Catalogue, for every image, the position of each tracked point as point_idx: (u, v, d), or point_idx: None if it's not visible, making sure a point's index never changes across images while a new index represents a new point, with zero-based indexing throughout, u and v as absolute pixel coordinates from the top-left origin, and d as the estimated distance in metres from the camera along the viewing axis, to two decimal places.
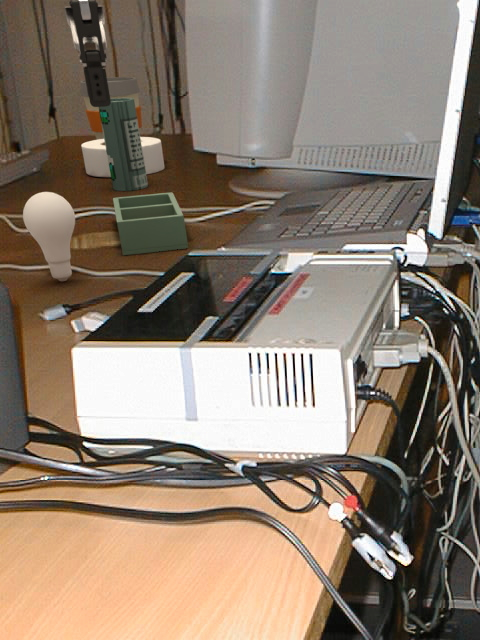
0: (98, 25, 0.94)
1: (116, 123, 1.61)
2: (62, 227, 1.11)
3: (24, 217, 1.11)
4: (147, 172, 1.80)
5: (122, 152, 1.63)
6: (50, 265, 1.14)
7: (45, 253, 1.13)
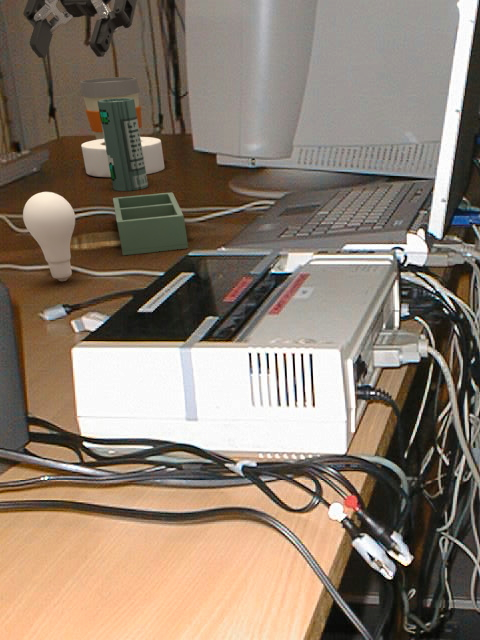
0: (135, 3, 1.13)
1: (116, 123, 1.61)
2: (62, 227, 1.11)
3: (24, 217, 1.11)
4: (147, 172, 1.80)
5: (122, 152, 1.63)
6: (50, 265, 1.14)
7: (45, 253, 1.13)
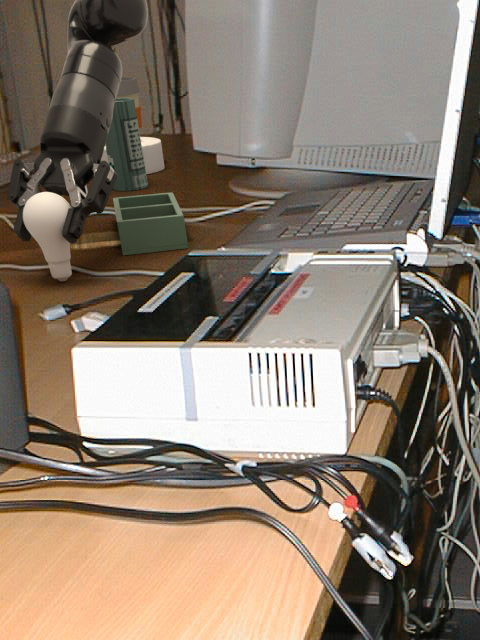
0: (111, 189, 1.13)
1: (116, 123, 1.61)
2: (62, 227, 1.11)
3: (24, 217, 1.11)
4: (147, 172, 1.80)
5: (123, 152, 1.63)
6: (50, 265, 1.14)
7: (45, 253, 1.13)
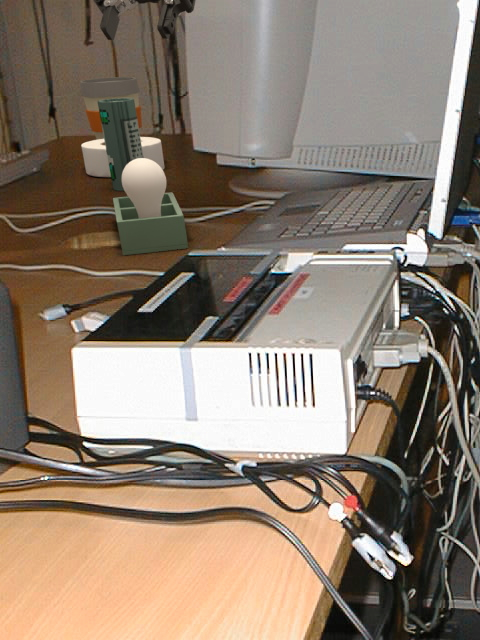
0: None
1: (116, 123, 1.61)
2: (156, 189, 1.26)
3: (123, 180, 1.25)
4: None
5: (122, 152, 1.63)
6: None
7: (139, 213, 1.28)
